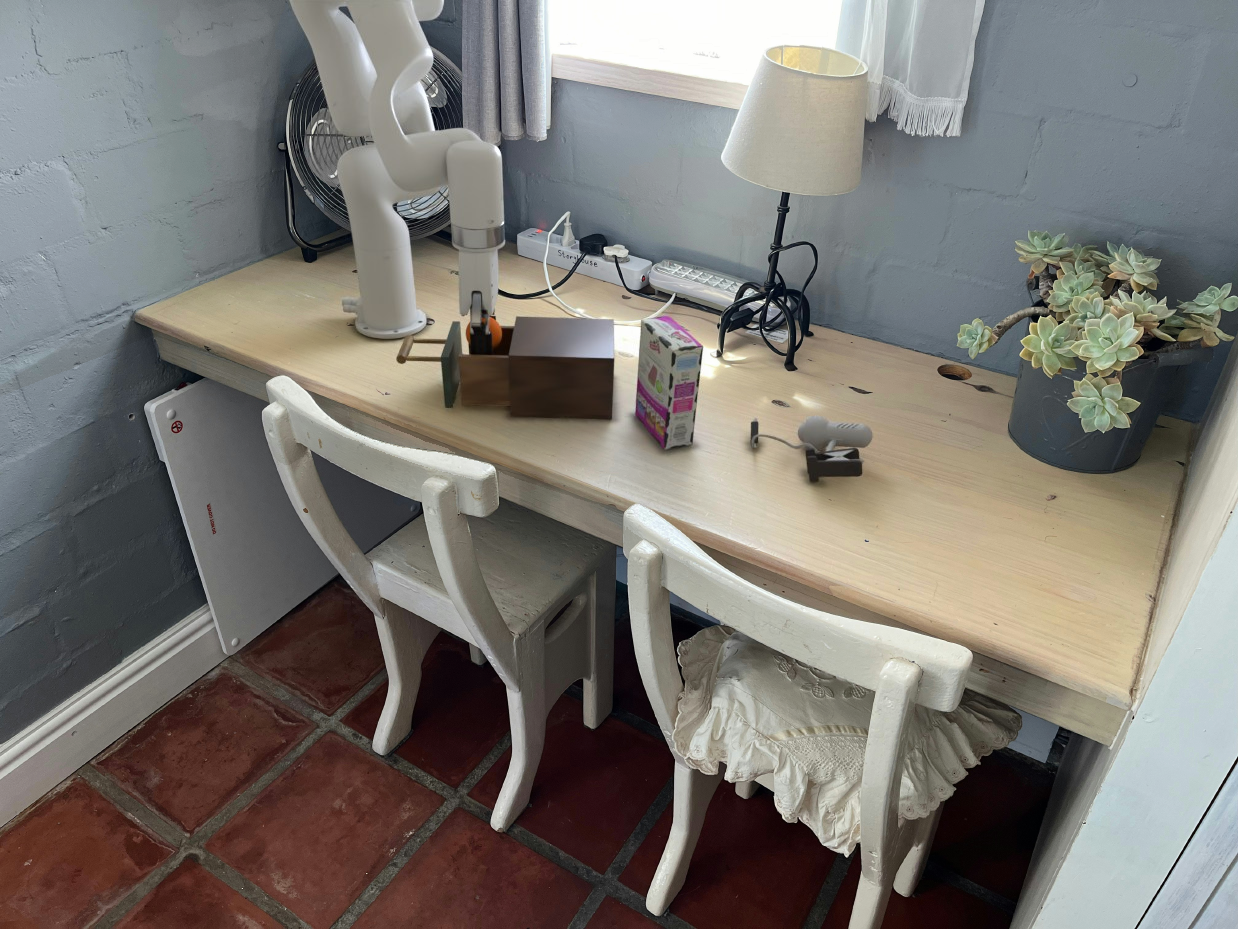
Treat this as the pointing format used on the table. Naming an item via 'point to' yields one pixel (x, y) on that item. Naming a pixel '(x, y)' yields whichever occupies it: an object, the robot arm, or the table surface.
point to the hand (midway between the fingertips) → (484, 346)
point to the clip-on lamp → (830, 434)
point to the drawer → (468, 368)
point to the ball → (494, 329)
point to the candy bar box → (668, 381)
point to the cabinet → (562, 368)
